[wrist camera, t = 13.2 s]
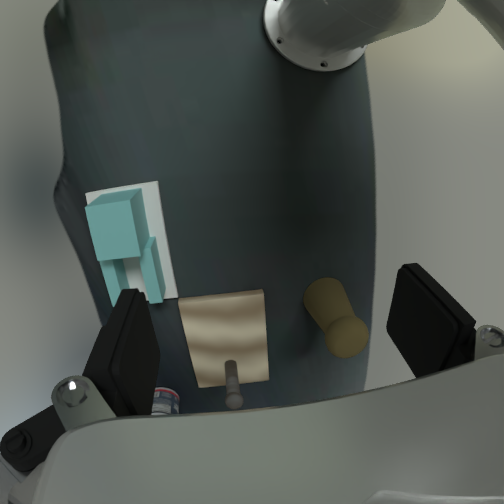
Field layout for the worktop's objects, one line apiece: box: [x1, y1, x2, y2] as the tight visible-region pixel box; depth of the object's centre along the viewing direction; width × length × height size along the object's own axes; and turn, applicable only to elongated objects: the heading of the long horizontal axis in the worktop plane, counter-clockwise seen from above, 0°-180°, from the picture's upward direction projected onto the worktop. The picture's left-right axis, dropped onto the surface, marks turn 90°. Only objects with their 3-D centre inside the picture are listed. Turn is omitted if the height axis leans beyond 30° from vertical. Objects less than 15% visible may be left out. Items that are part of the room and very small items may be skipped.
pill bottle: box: [151, 387, 179, 415], centre depth 45 cm, size 5×5×9 cm
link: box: [85, 188, 166, 307], centre depth 35 cm, size 13×6×6 cm, turn 4°
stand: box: [178, 289, 269, 409], centre depth 41 cm, size 16×11×10 cm
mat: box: [86, 181, 178, 301], centre depth 38 cm, size 15×9×1 cm, turn 4°
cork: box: [303, 277, 369, 358], centre depth 39 cm, size 6×6×11 cm
